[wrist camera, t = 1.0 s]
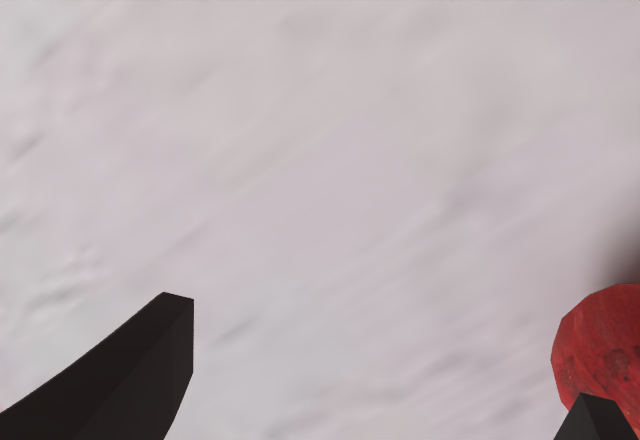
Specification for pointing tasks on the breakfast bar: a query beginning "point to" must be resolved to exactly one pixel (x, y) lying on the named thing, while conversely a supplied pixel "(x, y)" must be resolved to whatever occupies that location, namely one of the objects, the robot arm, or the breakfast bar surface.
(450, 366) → the breakfast bar surface
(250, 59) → the breakfast bar surface
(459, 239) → the breakfast bar surface
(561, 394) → the onion
